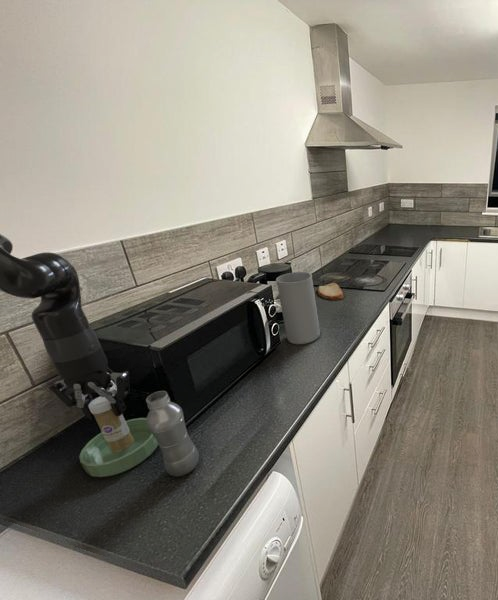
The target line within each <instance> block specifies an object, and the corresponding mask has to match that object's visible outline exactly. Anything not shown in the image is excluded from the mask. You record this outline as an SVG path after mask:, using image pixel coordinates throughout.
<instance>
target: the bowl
mask: <svg viewBox="0 0 498 600" xmlns="http://www.w3.org/2000/svg"><path fill="white" fill-rule="evenodd" d="M146 418H147V417H137V418H132V419H128V420H125V421H126V423H127V425H128V427H129V431H130V433H131V435H132V437H133V438H134V442H133V444H132V445H131V446H130V447H128V448H127V449H125V450H123V451H120V452H112V451H111V450H110V447H109V445H108V443H107V441H106V440H105V438H104V436H103V434H102V432H101V431H100V433H98V434H97V435H95V436H94V437H93V438H92V439H90V440H89V441H88V442H87V443H86V444H85V446H84V447H83V448H82V449H81V451H80V454H79V457H78V458H79V461H80V464H81V466H82V467H83V469H84V471H85V473H87V474H88V475H89V476H91V477H96V478H97V477H98V478H103V477H111V476H115V475H118V474H121V473H124V472H127V471H129V470H131V469H133V468H134V467H136V466H138V465H139V464H141V463H143V461H145V460H146V459H147V458H149V457H150V456H151V455H152V454H153V453H154V451H156V449H157V447H158V446H159V444H158V442H157V441H156V439H155V437H154V436H153V434H152V433H151V432H150V430H149V429H148V427H147V425H146Z"/></svg>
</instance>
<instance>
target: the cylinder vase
mask: <svg viewBox="0 0 498 600" xmlns="http://www.w3.org/2000/svg"><path fill="white" fill-rule="evenodd" d="M275 281H276V286H277V292H278V296H279V297H278V298H279V301H280V307H281V313H282V318H283V323H284V328H285V334H286V339H287V341H288V342H289V343H291V344H293V345H305V344H306V345H307V344H309V343H312V342H314V341H316V340H318V338H319V337H320V335H321V330H320V324H319V323H320V321H319V317H318V309H317V302H316V296H315V289H314V282H313V274H312V273H310V272H306V271H296V272H288V273H285V274H281V275H279V276H277V277H276V279H275Z"/></svg>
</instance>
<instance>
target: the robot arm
mask: <svg viewBox="0 0 498 600" xmlns="http://www.w3.org/2000/svg"><path fill="white" fill-rule="evenodd" d="M13 247H14V246H13V243H12V241H11V240H10V239H9V238H8V237H7V236H5V235H3V234H1V233H0V291H1V292H3V293H5V294H7V295H10V296H13V297H16V298H22V299H38V298H40V303H39V304H38V305H37V307H35V308H34V309H33V310H32V312H31V320H32V322H33V325H34V326H35V329H36V330H37V332H38V334H39V336H40V337H41V339H42V342H43V345H44V349H45V351H46V353H47V354H48V357H49V358H50V361H51V363H52V364H53V366H54V368H55V370H56V372H57V374H58V377H60V379H58V380H57V381H56V382H54V383H53V384H52V385H50V386H49V390H51V392H53V393H54V395H55V396H56V397H58V399H59V400H60V401H61V402H63V404H64V405H66V407H67V408H72V407H74V406H75V407H77V408H79V409H81V411H82V413H83V415H84V416H85V418H86V419H88V420H89V421H94V420H96V419H95V417H94V415H93V414H92V413H91V411H90V409H89V407H88V405H89V403H90V402H91V401H92V394H98V395H99V397H100V396H101V397H105V398H106V399H107V400H108V401H109V402H110V403H111V404H110V405H111V407H112V409H113V411H114V413H115V416H121V415H123V414H124V413H125V411H126V409H127V405H126V404H125V401H124V399H125V398H127V396H128V395H129V394H130V393H131V383H130V372H129V371H127V370H124V371H122V372H114V371H113V370H112V369H111V368H110V367H109V361H108V358H107V356H106V353H105V351H104V349H103V347H102V344H101V343H100V340H99V338H98V336H97V335H96V332H95V331H94V329H93V328H92V326H91V325H90V322H89V320H88V318H87V316H86V313H85V311H84V310H83V308H82V293H81V286H80V280H79V274H78V272H77V269H76V268H75V266H74V265H73V263H71V261H70V260H68V258H66V257H64V256H63V255H61V254H59V253H55V252H39V253H35V254H31V255H28V256H26V257H22V258H19V257H17V256H14V255H12V251H13ZM113 395H114V396H113Z"/></svg>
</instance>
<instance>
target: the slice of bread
mask: <svg viewBox="0 0 498 600" xmlns="http://www.w3.org/2000/svg"><path fill="white" fill-rule="evenodd" d="M317 294H318V296H319V297H321V298H323V299H326V300H331V301H338V300H342V299H344V297H345V296H344V292H343V290H342V289H341V287H340V286H339V285H338V284H337V283H336V282H330V283H328V284H325V285H319V286H318V287H317Z"/></svg>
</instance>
